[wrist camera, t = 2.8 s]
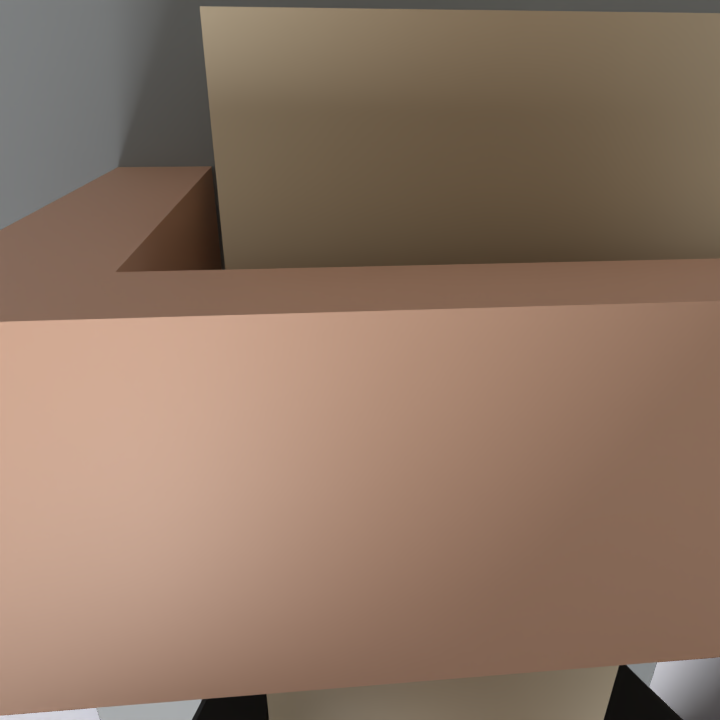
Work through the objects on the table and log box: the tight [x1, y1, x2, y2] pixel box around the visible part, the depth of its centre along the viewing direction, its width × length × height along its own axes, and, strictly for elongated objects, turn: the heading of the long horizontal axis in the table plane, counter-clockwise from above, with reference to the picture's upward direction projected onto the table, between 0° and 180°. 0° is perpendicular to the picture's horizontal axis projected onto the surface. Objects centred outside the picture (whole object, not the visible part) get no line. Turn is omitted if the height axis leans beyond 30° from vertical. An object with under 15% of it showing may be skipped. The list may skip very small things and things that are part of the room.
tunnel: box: [0, 166, 720, 716], centre depth 6 cm, size 8×3×5 cm, turn 90°
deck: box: [0, 0, 720, 720], centre depth 10 cm, size 12×20×2 cm, turn 0°
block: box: [200, 6, 720, 720], centre depth 8 cm, size 4×10×4 cm, turn 0°
